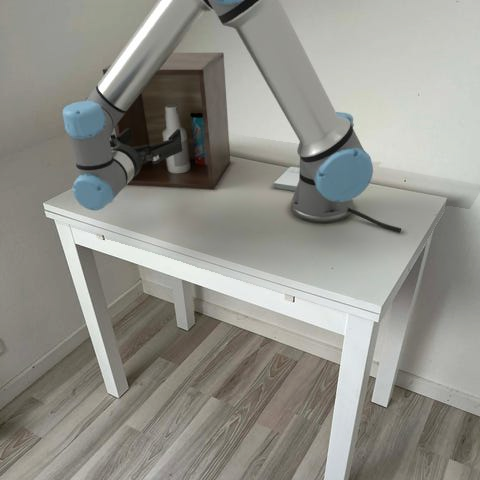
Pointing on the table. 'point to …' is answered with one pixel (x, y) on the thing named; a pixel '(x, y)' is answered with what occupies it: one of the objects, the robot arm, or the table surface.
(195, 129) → the beverage can
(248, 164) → the table surface
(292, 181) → the hard drive
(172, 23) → the robot arm
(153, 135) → the cupboard
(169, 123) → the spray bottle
